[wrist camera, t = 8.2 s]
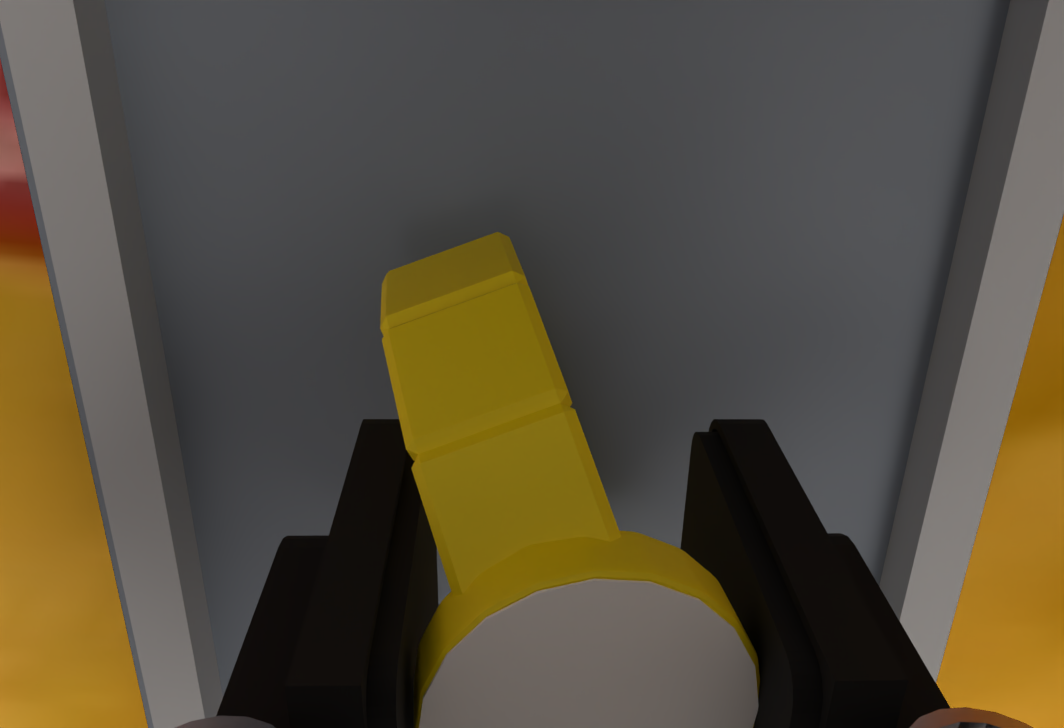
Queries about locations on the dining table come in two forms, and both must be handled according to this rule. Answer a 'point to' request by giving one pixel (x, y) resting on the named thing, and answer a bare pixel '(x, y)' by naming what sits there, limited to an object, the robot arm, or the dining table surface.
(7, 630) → the dining table surface
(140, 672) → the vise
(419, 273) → the watch
